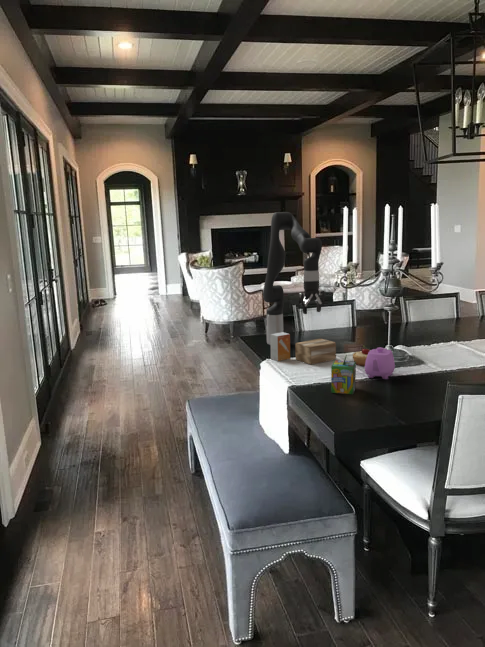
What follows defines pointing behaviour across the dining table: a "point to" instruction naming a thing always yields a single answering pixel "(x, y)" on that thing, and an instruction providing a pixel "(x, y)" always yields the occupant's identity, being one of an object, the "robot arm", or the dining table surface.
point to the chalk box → (343, 376)
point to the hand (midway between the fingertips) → (311, 312)
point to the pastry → (361, 356)
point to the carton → (315, 354)
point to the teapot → (379, 363)
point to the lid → (315, 343)
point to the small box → (280, 346)
